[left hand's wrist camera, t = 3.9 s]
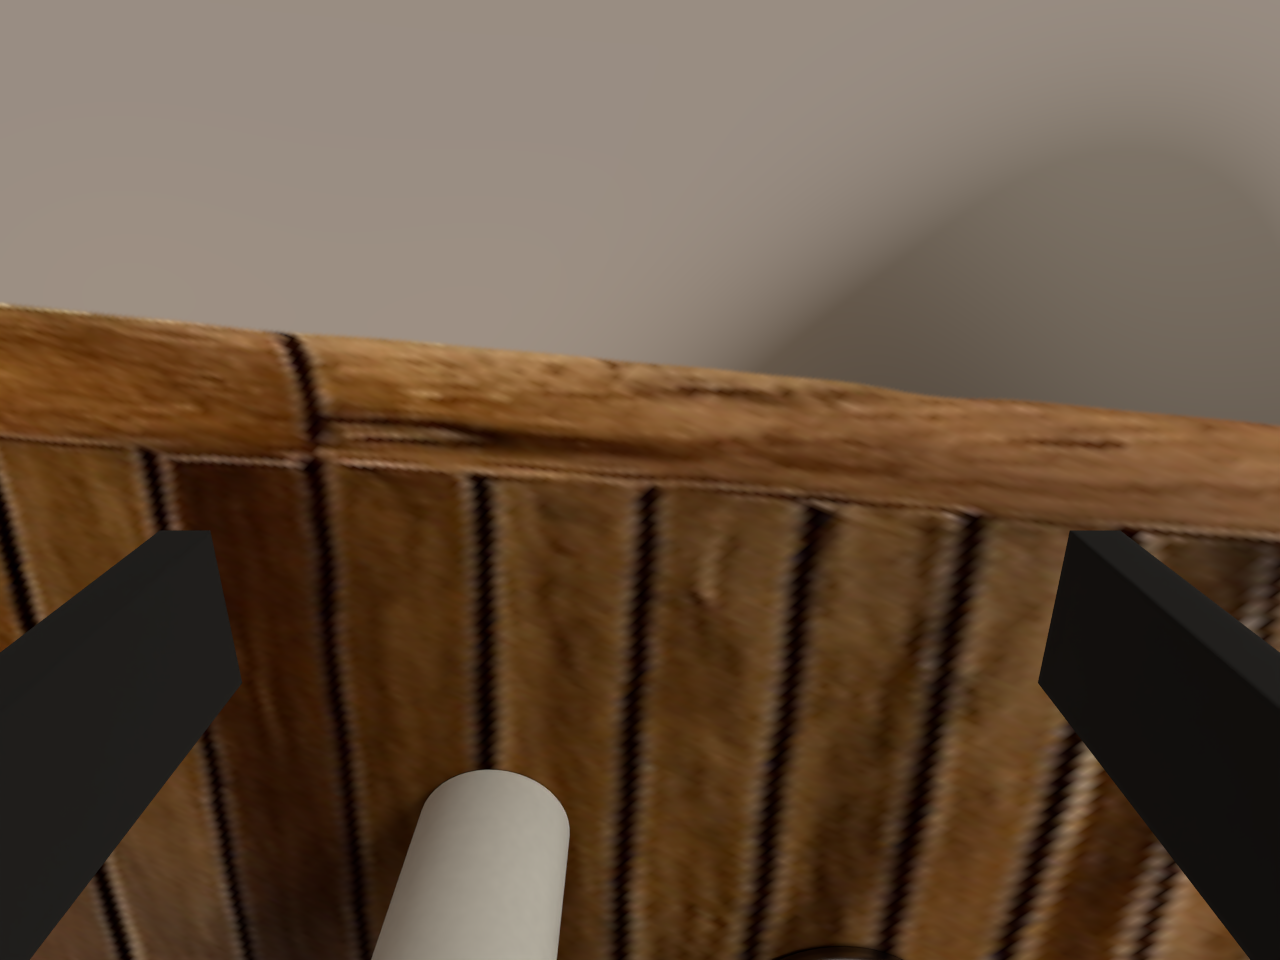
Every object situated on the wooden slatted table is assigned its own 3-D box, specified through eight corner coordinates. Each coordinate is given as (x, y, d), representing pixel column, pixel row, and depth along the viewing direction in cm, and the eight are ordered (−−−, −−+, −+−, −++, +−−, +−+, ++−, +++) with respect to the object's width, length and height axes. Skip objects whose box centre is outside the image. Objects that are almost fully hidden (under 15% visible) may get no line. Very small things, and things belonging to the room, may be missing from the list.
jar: (595, 804, 50) (574, 1106, 34) (530, 904, 53) (483, 1225, 37) (455, 747, 48) (364, 1035, 32) (397, 853, 51) (287, 1165, 35)
